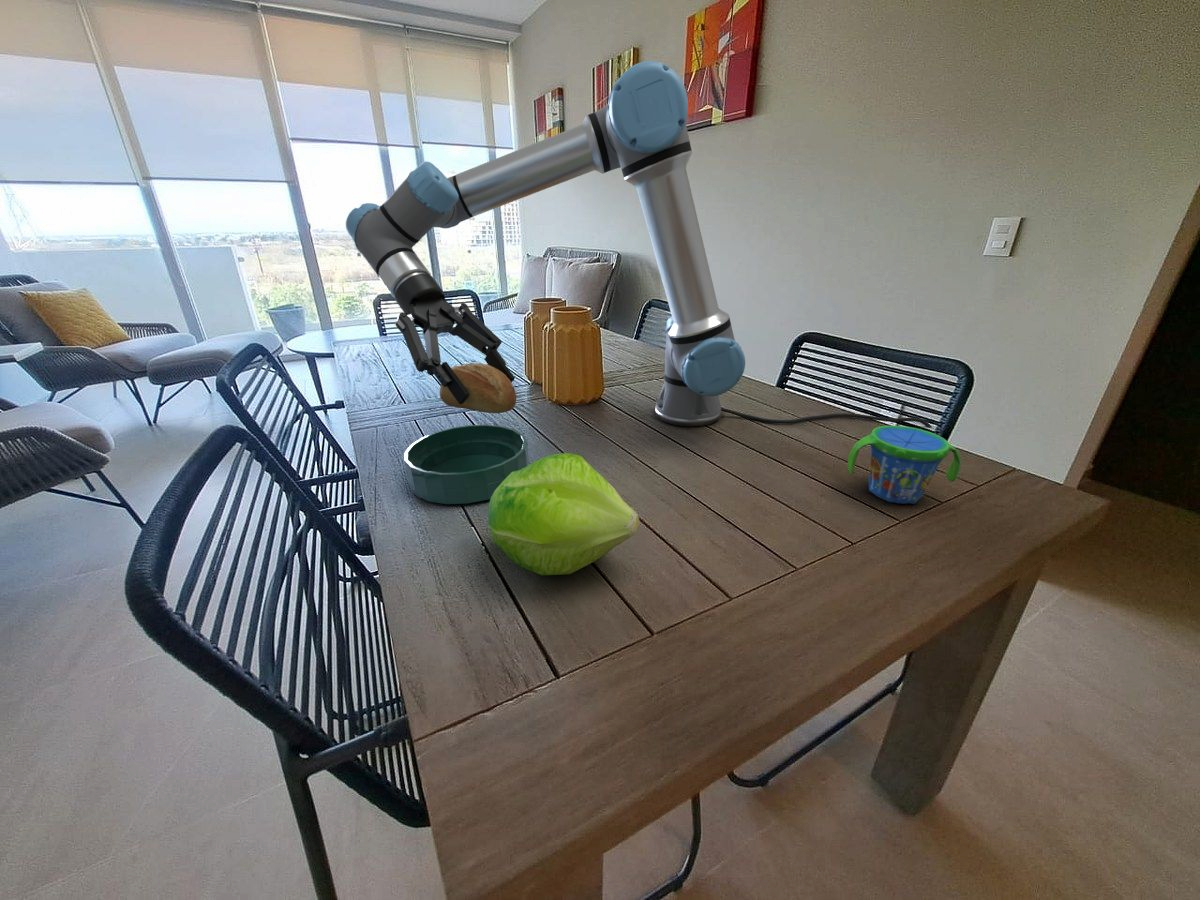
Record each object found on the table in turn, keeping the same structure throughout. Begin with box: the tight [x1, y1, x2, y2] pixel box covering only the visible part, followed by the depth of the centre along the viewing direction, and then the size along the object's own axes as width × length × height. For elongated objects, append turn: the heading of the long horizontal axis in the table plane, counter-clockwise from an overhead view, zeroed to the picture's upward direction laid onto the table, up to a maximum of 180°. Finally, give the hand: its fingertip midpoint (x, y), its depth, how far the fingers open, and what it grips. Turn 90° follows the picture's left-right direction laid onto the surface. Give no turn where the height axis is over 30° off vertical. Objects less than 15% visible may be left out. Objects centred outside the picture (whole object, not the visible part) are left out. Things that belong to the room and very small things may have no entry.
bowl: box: [403, 424, 530, 505], centre depth 85 cm, size 21×21×6 cm
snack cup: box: [847, 425, 962, 505], centre depth 76 cm, size 16×10×10 cm
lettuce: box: [487, 452, 640, 576], centre depth 61 cm, size 15×20×14 cm
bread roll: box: [439, 362, 517, 414], centre depth 82 cm, size 10×15×8 cm, turn 62°
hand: (488, 390), depth 80 cm, fingers closed on bread roll, 10 cm apart
